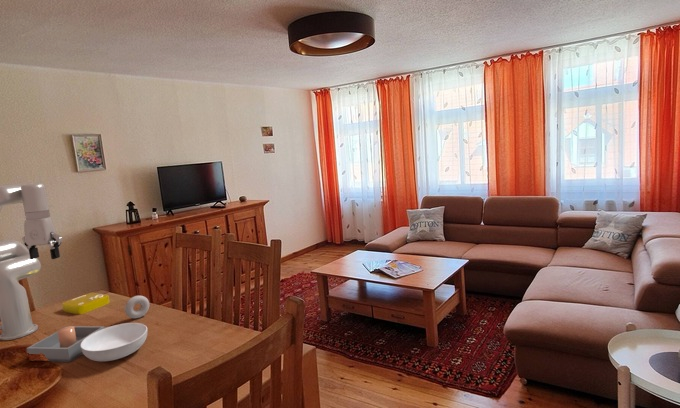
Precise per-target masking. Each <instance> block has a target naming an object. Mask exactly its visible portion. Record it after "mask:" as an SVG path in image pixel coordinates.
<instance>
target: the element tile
mask: <svg viewBox="0 0 680 408" xmlns="http://www.w3.org/2000/svg"><path fill="white" fill-rule="evenodd" d="M110 303H111V302H110V296H109V294H105V293H98V292H89V293H86V294H83V295H80V296H77V297H75V298H72V299H69V300H66V301H63V302H62V305H61V306H62V311H63V312H64V313H69V314H75V315H83V314H86V313H89V312H91V311H94V310H96V309H100V308H101V307H103V306H106V305H108V304H110Z"/></svg>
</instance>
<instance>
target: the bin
mask: <svg viewBox="0 0 680 408" xmlns="http://www.w3.org/2000/svg"><path fill="white" fill-rule="evenodd" d="M68 326H69V325H68ZM68 326H67V325H66V326H65V327H68ZM74 328H75V334H76V339H77V342H76V343H75V344H73V345H71V346H70V347H68V348H60V343H59V338H58V333H57V331H55V332H54V333H52V334H50V335H49V336H46V337H45V338H42V339H41V340H39V341H37V342H35V343H33V344H32V345H30V346H28V347H26V353H29V354H40V353H42V354H44V355H45V357H46V358H47V359H48V360H49V361H51V362H50V363H72V362H73V361H75V360H76V359H78V358H79V357H80V356H83V355H84V354H83V352H82V350H81V347H80V344H81V342H82V341H83V340H84V339H85V338H86V337H88V336H89V335H91V334H93V333H95V332H97V331H99V330H102V329H105V328H106V326H99V325H98V326H95V325H94V326H93V325H92V326H91V325H90V326H89V325H88V326H87V325H86V326H83V325H79V326H78V325H76V326H74Z"/></svg>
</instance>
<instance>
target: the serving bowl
mask: <svg viewBox="0 0 680 408" xmlns="http://www.w3.org/2000/svg"><path fill="white" fill-rule="evenodd" d="M147 337H148V327H147V325H145V324H144V323H140V322H125V323H120V324H115V325H112V326H107V327H105V329H102V330H99V331H97V332H95V333H93V334H91V335H89V336H88V337H86V338H85V339H84V340H83V341H82V342H81V344H80V347H81V350H82V352H83V354H82V355H83V356H85V357H86V358H87V359H89V360H91V361H95V362H110V361H115V360H119V359H123V358H125V357H127V356H129V355H131V354H133V353H135V352H137V350H139V348H141V347H142V346H143V345H144V343H145V342H146V339H147Z"/></svg>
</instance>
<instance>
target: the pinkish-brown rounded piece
mask: <svg viewBox="0 0 680 408" xmlns="http://www.w3.org/2000/svg"><path fill="white" fill-rule="evenodd" d="M56 332H57V333H58V338H59V343H60V348H68V347H70V346H71V345H73V344H75V343H76V342H77V339H76V334H75V328H74V326H73V325H68V327H66V326H65V327H61V328H59V329H58V330H57V331H56Z"/></svg>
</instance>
